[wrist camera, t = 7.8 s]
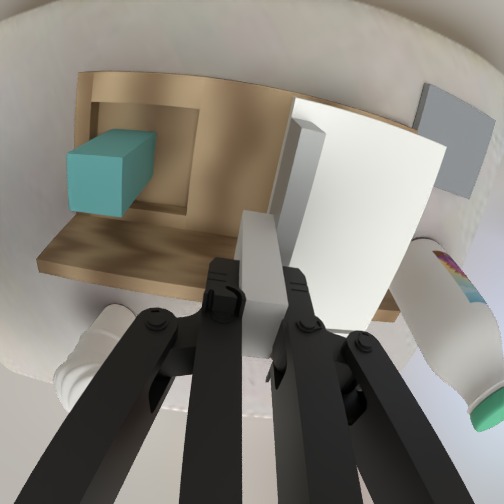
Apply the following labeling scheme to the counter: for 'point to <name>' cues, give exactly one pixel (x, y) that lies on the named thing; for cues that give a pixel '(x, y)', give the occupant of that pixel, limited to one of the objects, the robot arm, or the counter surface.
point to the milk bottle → (452, 329)
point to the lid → (348, 206)
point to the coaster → (454, 138)
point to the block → (110, 171)
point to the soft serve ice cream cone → (90, 353)
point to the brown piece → (179, 179)
